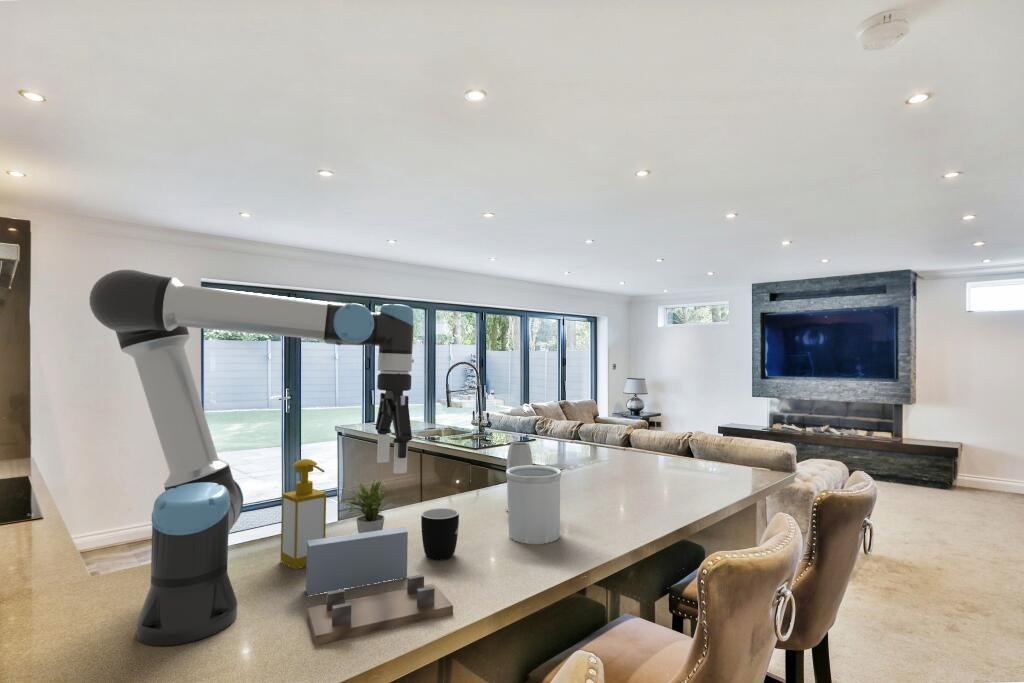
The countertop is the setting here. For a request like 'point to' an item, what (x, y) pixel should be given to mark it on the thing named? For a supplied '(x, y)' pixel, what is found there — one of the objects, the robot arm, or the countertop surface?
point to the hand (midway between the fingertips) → (391, 467)
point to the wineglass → (518, 455)
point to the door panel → (356, 560)
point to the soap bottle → (302, 517)
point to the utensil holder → (533, 503)
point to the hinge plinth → (376, 611)
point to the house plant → (369, 508)
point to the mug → (439, 533)
